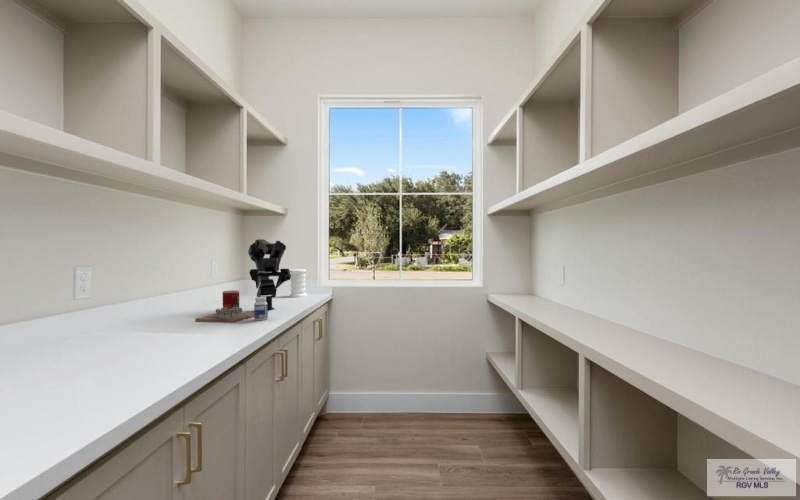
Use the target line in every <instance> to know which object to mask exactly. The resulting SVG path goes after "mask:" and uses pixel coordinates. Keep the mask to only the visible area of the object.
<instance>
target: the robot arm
mask: <svg viewBox="0 0 800 500" xmlns="http://www.w3.org/2000/svg"><path fill="white" fill-rule="evenodd" d="M286 249H287V246H286V245H285V244H284V243H283V242H281V240H276V241H275V243H273V242H272V243H271V242H269V241H267V240H266V239H258V238H257V239H255V241H254V242H253V243H252V244H250V246H249V248H248V251H247V252H248V253H247V254H248V256H249V257H250V260H251V261H252V262H254V263H255V267H256V268H251V269H250V270H249V275H250V278H251V280H252V281H253V282H255V287H256V289H257V292H256V297H266V302H267V304H268V311H271V310H274V309H275V310H276V308H275V307H273V299H274V298H276V297H277V290H278V288H279V287H280V286H281V285H282V284H284V283H285V282H288V281H291V272H290V270H291V269H289V268H280V264H281V260H282V258H283V256H284V254H285V252H286ZM266 255H269V257H265V256H266ZM271 277H272V278H273V277H275V278H277V281H276V283H275V282H274V281H275V280H274V279H272V278H271Z"/></svg>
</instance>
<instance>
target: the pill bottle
mask: <svg viewBox="0 0 800 500" xmlns="http://www.w3.org/2000/svg"><path fill="white" fill-rule="evenodd" d="M254 301H255V302H254V304H253V306H254V307H253V308H254V309H253V310H254V311H253V313H254V315H255V317H254V320H255V321H265V320H268V318H269V312H268V311H269V310H268V304H267V302H266V297H257V296H256V297H255V298H254Z"/></svg>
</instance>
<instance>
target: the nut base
mask: <svg viewBox="0 0 800 500" xmlns="http://www.w3.org/2000/svg"><path fill="white" fill-rule="evenodd" d="M252 317H253V318H255V315H254V312H243V308H242V307H240V306H239V307H232V309H228V308H223V307H221V308H215V314H210V315H205V316H202V317H201V316H200V317H196V318H194V320H195V321H194V322H199V323H200V322H207V323H238V322H237V321H239V322H241V320H242V321H245V320H244V319H246V320H249V319H253V318H252ZM248 318H249V319H248Z"/></svg>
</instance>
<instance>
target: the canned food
mask: <svg viewBox="0 0 800 500" xmlns="http://www.w3.org/2000/svg"><path fill="white" fill-rule="evenodd" d="M232 307H239V308H240V290H237V289H236V290H233V289H232V290H231V289H230V290H223V291H222V308H228V309H232Z"/></svg>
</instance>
